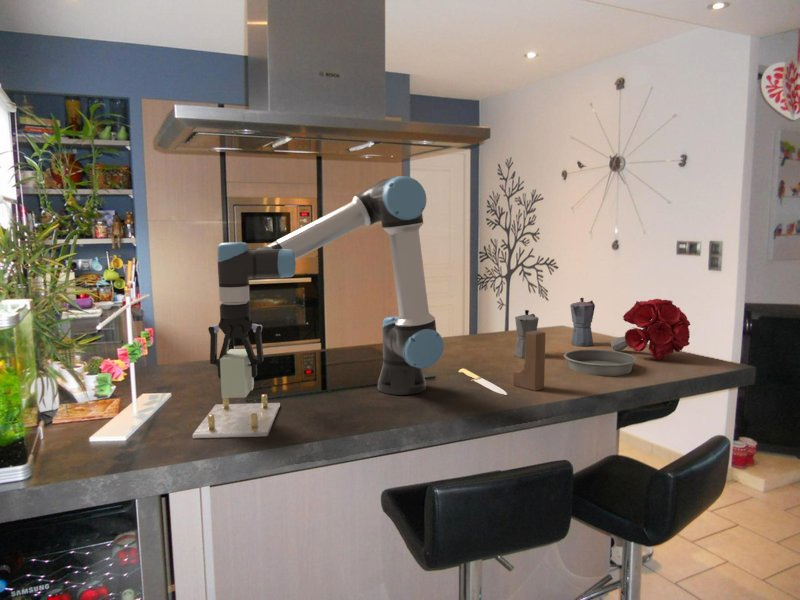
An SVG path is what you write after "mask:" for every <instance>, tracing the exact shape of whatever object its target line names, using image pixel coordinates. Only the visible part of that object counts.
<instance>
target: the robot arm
mask: <svg viewBox="0 0 800 600" xmlns="http://www.w3.org/2000/svg"><path fill="white" fill-rule="evenodd" d="M426 205H427V194H426V191H425V188H424V187H423V185H422V184H421V183H420V182H419V181H418V180H416V179H415V178H413V177H410V176H407V175H405V176H404V175H397V176H393V177H389V178H386V179H382V180H379V181H378V182H376V183H375V184H373V185H372V186H370V187H369V188H366V189H365V190H364V191H362V192H361V193H358V194H356V195H354V196H353V197H352V200H351V202H349V203H347V204H344V205H343V206H340V207H339V208H337V209H335V210H333V211H330V212H328V213H327V214H325V215H323V216H321V217H319V218H317V219H315V220H313V221H311V222H310V223H307V224H306V225H305V224H304V225H303V226H302V227H300V228H297V229H296V230H294V231H292V232H290V233H287V234H285V235H284V236H282V237H280V238H278V239H276V240H275V241H273V242H271V243H268V244H266V245H263V246H259V247H258V248H256V249H249V247H248V243H246V242H244V241H243V242H242V241H239V242H237V241H235V242H233V241H232V242H230V241H229V242H221V243H219V244H218V246H217V260H216V261H217V275H218V294H219V295H218V298H219V299H218V301H219V302H220V304H219V316H220V317H219V319H220V320H219V322H218V324H211V325H210V326H208V328H207V329H208V332H209V336H210V343H209V344H210V345H209V346H210V351H209V352H210V353H209V364H211V365H215V366H216V368H217V377H218V379H221V372H220V359H221V358H222V357H223V356H224V355H225V354H226V353H227V352H228V351H229V346H230V342H231V340H232V339H240V340H241V342H242V344H243V348H244V349H245V350H246V352H247V355H248V358H249V360H250V363H251V364H250V365H249V366H248V376H249V391H250V392H251V391H253V389H254V387H255V381H254V382H253V377H254V378H257V376H258V365H259V364H262V363H263V361H264V360H265V358H264V356H265V355H264V348H263V338H262V331H263V327H264V326H263V324H261V323H260V324H257V323H253V321H252V319H251V305H250V304H251V303H249V301H250V300H251V298H250V280H251V279H253V280H254V279H285V278H292V277H294V276H295V274H296V269H297V265H296V264H297V263H296V261H297V260H298V259H301V258H303V257H305V256H307V255H309V254H311V253H312V252H314V251H316V250H318V249H320V248H322V247H324V246H326V245H328V244H330V243H331V242H334V241H335V240H337V239H339V238H341V237H343V236H346V235H347V234H350V232H352V231H353V232H354V231H355V230H357V229H359V228H360V227H362V226H366V227H370V226H371V225H374V224H376V223H378V222H381V227H382V230H384V231H385V232H386V233H387V234H388V240H389V248H390V256H391V262H392V270H393V271H392V272H393V280H394V286H395V294H396V302H397V308H398V316H397V315H395V316H387V317H385V318H384V319H382V320H383V321H382V328H381V330H382V367H381V370H380V374H379V377H378V380H377V391H380V392H381V393H384V394H387V395H395V396H396V395H398V396H406V395H416V394H419V393H422V392H424V391H425V390H426V389H427V388H426V387H427V382H426V379H425V374H424V371H423V369H428V368H430V367H432V366H434V365H436V364H437V363H438V362H439V360H440V359H441V358H442V356H443V353H444V350H445V349H444V348H445V343H444V342H445V341H444V340H443V338H442V335H441V334H440V333H439V332H437V323H436V318H435V316H433V314H431V313H430V312H429V303H428V302H429V301H428V295H427V287H426V286H427V285H426V279H425V271H424V263H423V262H424V260H423V255H422V244H421V237H420V229H421V228H422V226H423V224H424V216H423V212H424V210H425V208H426ZM251 329H252V331H253V333H255V334H254V339H255V347H256V348H255V350H256V355H255V352H254V349H253V347H252V343H251V341H250V337H249V334H248V333H249V331H250V330H251ZM220 330H221V332H222V333H223V334H224V337H223V342H222V346H221V350H220V353H219V356H218V333H219V332H220Z"/></svg>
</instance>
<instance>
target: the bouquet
mask: <svg viewBox="0 0 800 600" xmlns="http://www.w3.org/2000/svg"><path fill="white" fill-rule="evenodd" d="M622 320H623V321H624V322H625V323H626V322H627V323H630V324H631V325H636V327H631V328H629V329H628V330H626V332H625V333H624V336H619V337H616V338H614V339H611V341H610V346H611V348H612V349H613V351H618V352H621V351H622V350H624V349H626V348H627V347H629V348H631V349H632V350H634V351H635V352H639V353H640V352H642V351H644V350H645V349H646V348H647V345H648V351H649V352H650V355H651V356H653V357H654V359H655V360H663V359H664V357H666V356H668V355H672V354H674V352H677V353H680V352H681V351H683V349H684V348H685V347H687V346H689V345H690V341H689V340H690V328H689V326H691V322H690V321H689V320H688V317H687V315H686V313H684V312H683V310H681V307H677V305H675V304H674V301H673V300H669V299H661V298H653V299H648V300H647V301H646V300H640V301H638V300H636V302H635V303H634V305H633V306H632V307H631V308H630V309H629V310H628V311H626V312H625V313H624V315H622Z"/></svg>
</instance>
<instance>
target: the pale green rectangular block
mask: <svg viewBox="0 0 800 600" xmlns="http://www.w3.org/2000/svg"><path fill="white" fill-rule="evenodd" d="M250 364H251V363H250V360H249V358H248V355H247V352H246V350H245V348H230V349H228V350H227V353H226V354H225V355H224V356H223V357H222V358H221V359H220V372H221V378H220V386H221V387H220V388H221V399H223V398H229V399H233V398H235V399H240V398H247V396H248V395H249V394H250V392H251V391H249V376H248V366H249V365H250ZM254 378H255V377H253V382H254V383H255V379H254Z"/></svg>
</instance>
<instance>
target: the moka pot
mask: <svg viewBox="0 0 800 600" xmlns="http://www.w3.org/2000/svg"><path fill="white" fill-rule="evenodd" d="M579 299H580V301H579V302H572V303H571V304H570V306H569V307H570V312H571V320H572V325H573V329H572V337H571V345H572V346H576V347H591V346H594V338H593V334H592V333H593V332H592V327H591V326H592V323H593V319H594V313H595V308H596V305H595V302H594V301H593V300H592V299H591V300H589V301H584V299H585V298H584V297H580V298H579Z"/></svg>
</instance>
